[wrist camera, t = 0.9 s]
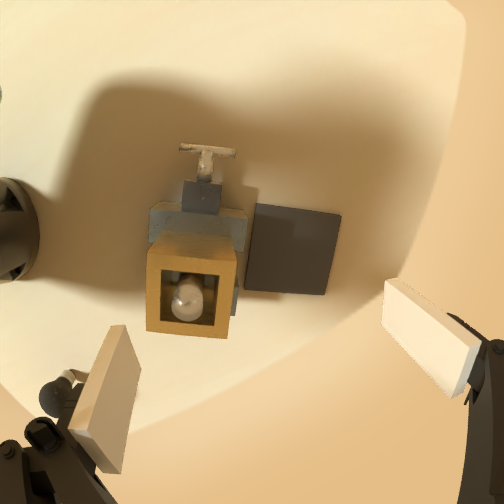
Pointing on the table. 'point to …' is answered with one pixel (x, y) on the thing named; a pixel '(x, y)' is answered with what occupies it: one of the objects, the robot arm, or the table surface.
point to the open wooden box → (196, 261)
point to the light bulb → (56, 394)
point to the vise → (199, 228)
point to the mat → (291, 250)
